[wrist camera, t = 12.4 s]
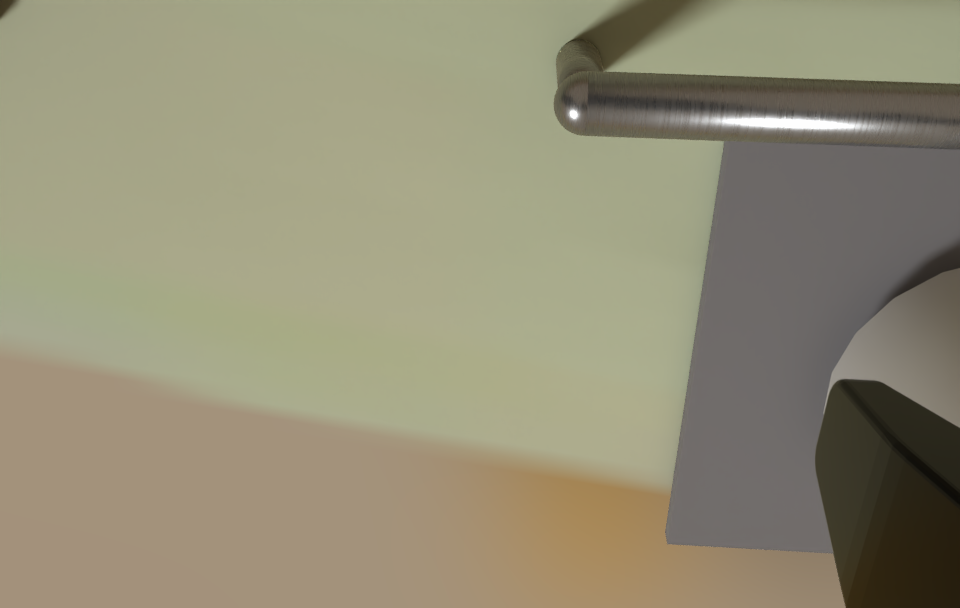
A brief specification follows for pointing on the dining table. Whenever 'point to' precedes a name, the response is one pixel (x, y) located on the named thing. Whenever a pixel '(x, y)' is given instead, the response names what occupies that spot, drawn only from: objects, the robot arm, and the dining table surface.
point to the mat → (794, 322)
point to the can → (913, 347)
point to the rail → (751, 107)
